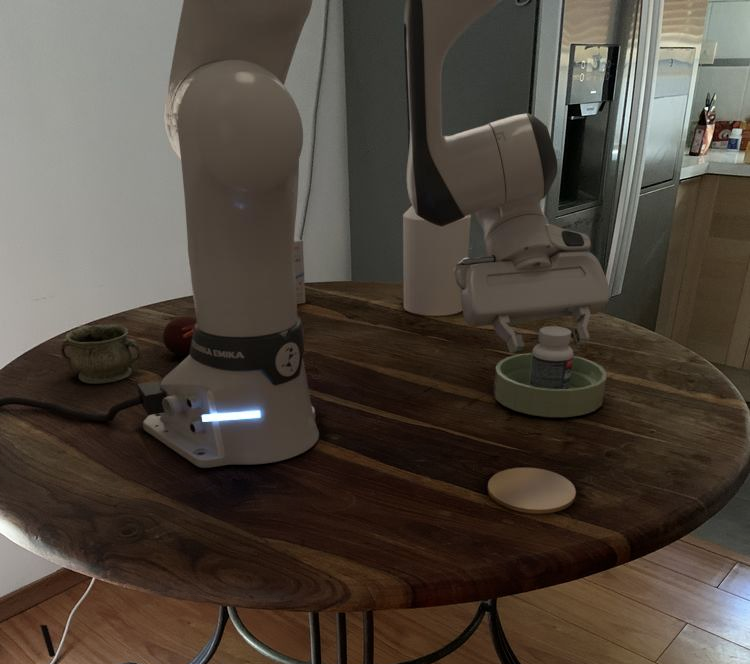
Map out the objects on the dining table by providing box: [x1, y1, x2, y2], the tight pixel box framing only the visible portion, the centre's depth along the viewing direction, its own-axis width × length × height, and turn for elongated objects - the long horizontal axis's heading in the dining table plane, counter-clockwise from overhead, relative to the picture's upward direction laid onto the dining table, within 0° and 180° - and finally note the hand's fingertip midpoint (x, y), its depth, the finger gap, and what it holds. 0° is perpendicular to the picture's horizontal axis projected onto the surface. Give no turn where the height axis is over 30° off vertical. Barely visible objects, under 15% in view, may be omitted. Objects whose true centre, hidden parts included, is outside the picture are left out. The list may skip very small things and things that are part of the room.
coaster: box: [487, 467, 577, 515], centre depth 76 cm, size 9×9×1 cm
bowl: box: [493, 352, 608, 418], centre depth 97 cm, size 14×14×4 cm
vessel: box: [59, 324, 143, 385], centre depth 106 cm, size 12×9×6 cm
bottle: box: [402, 205, 472, 317], centre depth 131 cm, size 12×12×25 cm
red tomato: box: [162, 315, 197, 358], centre depth 113 cm, size 8×9×6 cm
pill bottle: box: [529, 325, 574, 389], centre depth 96 cm, size 5×5×9 cm
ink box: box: [294, 235, 306, 305], centre depth 137 cm, size 9×5×12 cm, turn 117°
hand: (550, 346), depth 96 cm, fingers open, 8 cm apart
